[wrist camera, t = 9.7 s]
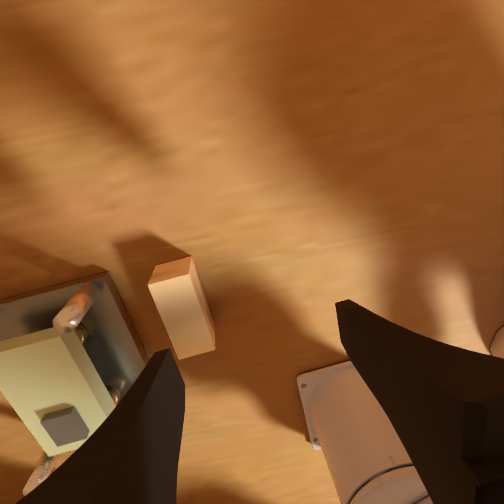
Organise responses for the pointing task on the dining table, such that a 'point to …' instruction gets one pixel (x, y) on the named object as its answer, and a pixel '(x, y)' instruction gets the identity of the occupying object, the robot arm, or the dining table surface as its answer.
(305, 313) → the dining table surface
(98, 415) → the board
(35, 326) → the chassis
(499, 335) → the figurine
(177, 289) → the block
